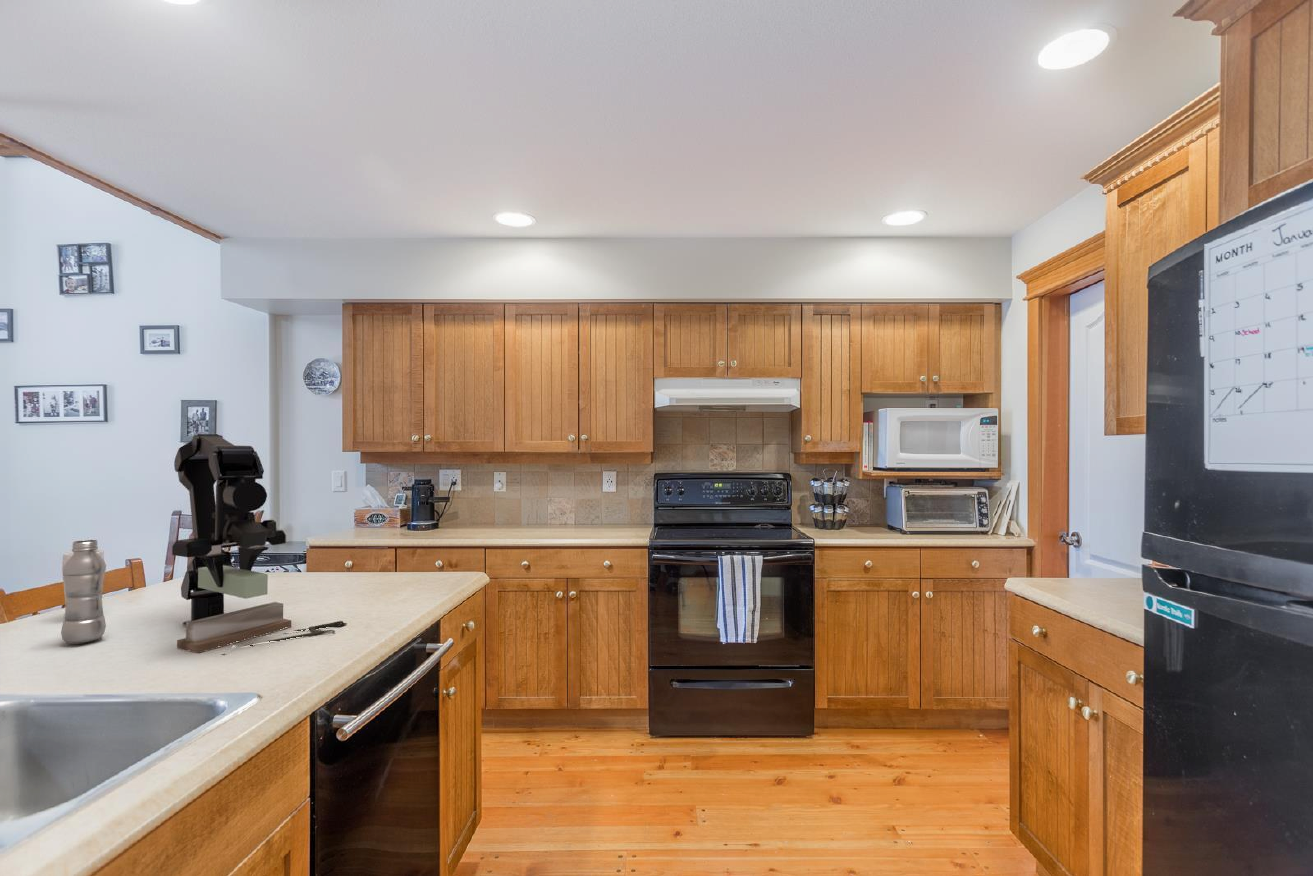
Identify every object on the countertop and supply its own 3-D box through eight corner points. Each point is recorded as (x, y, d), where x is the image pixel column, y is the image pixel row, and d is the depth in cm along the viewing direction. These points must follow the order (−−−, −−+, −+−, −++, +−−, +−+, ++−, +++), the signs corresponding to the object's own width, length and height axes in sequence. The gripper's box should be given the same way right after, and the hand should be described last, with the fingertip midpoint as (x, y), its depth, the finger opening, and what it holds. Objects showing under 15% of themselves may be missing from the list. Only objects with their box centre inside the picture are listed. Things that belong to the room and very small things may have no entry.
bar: (197, 587, 124) (198, 568, 124) (219, 583, 127) (219, 564, 128) (245, 598, 115) (245, 577, 115) (267, 594, 119) (267, 574, 119)
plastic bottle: (67, 650, 115) (68, 545, 115) (55, 643, 118) (57, 541, 118) (111, 640, 120) (112, 540, 120) (99, 635, 124) (100, 537, 124)
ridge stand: (176, 647, 116) (177, 621, 116) (270, 623, 132) (270, 600, 132) (198, 653, 113) (198, 626, 113) (291, 627, 129) (291, 603, 129)
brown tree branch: (346, 625, 132) (346, 619, 132) (351, 638, 123) (351, 631, 123) (209, 645, 119) (209, 637, 119) (205, 661, 110) (205, 653, 110)
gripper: (204, 514, 110) (203, 600, 110) (303, 505, 126) (302, 579, 126) (171, 511, 115) (169, 593, 114) (270, 503, 131) (269, 574, 131)
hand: (232, 584), depth 121 cm, fingers closed on bar, 4 cm apart
